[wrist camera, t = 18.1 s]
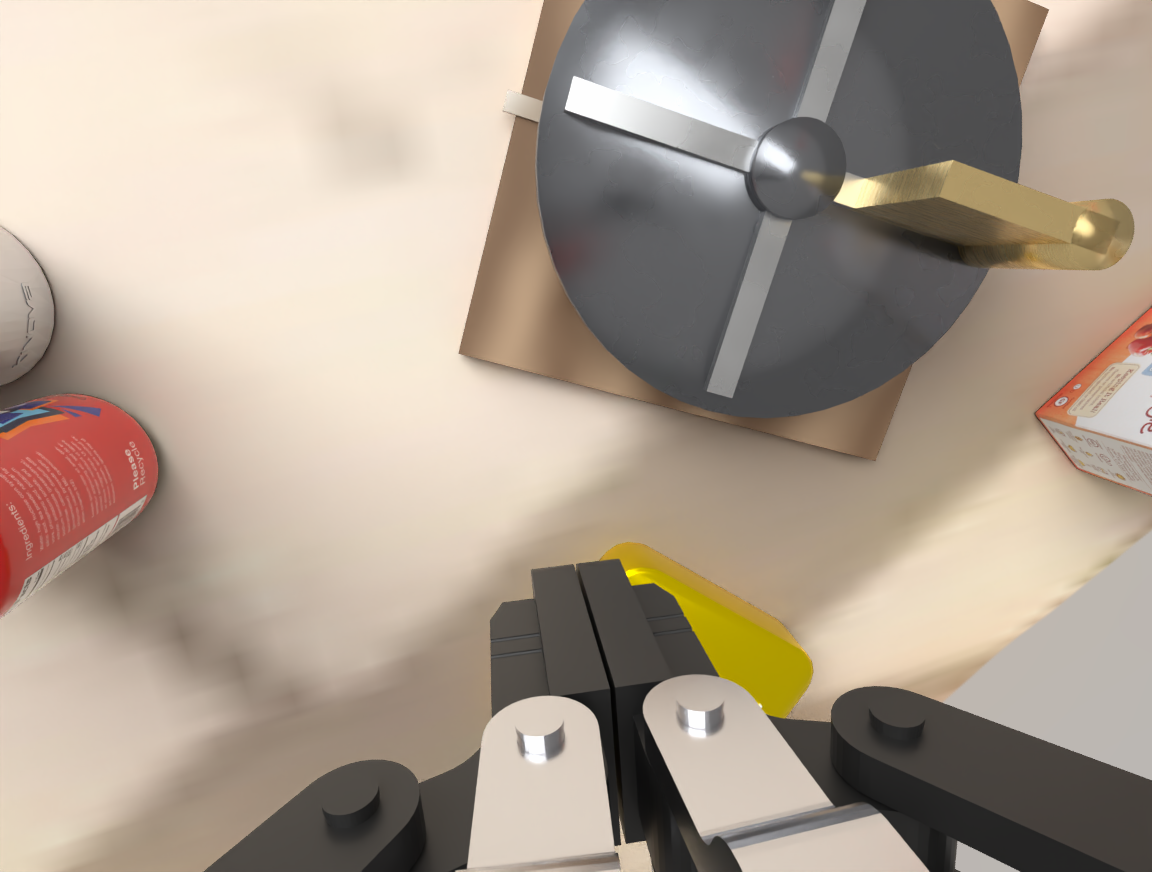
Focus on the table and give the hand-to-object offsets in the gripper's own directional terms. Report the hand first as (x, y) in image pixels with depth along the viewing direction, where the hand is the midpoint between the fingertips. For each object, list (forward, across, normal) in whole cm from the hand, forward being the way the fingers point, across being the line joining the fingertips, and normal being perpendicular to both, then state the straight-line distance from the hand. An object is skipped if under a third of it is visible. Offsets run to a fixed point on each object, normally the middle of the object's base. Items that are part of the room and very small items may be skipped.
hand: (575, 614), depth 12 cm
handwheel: (+24, -14, -9) cm, 29 cm away
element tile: (+30, -7, +22) cm, 37 cm away
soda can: (+29, +24, +3) cm, 38 cm away
